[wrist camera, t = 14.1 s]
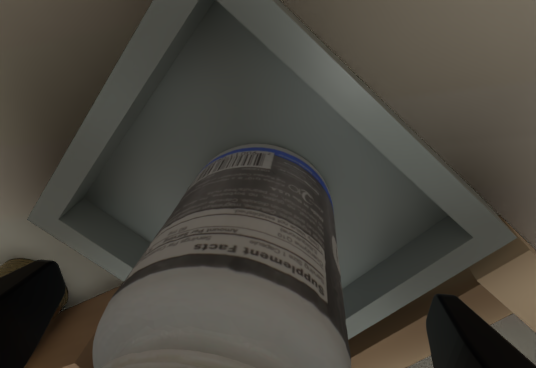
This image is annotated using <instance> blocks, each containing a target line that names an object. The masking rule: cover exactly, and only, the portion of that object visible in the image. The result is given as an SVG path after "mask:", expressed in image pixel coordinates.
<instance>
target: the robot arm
mask: <svg viewBox="0 0 536 368" xmlns="http://www.w3.org/2000/svg"><path fill="white" fill-rule="evenodd" d="M65 290H66V285H65V282H64V279H63V276H62V274H61V271H60V268H59V266H58V264H57V263H56V262H55V261H50V260H36V261H34V262H32V263H30V264H28V265H26V266H23V267H21V268H19V269H17V270H15V271H13V272H11V273H9V274H6V275H4V276H2V277H0V368H24V367H25V365H26V364H27V362H28V361H29V359H30V357H31V356H32V354H33V352H34V351H35V349H36V347H37V345H38V344H39V342H40V340H41V338H42V336H43V334H44V332H45V330H46V329H47V327H48V325H49V323H50V321H51V319H52V317H53V315H54V313H55V312H56V310H57V308H58V306H59V304H60V302H61V300H62V298H63V297H64V294H65ZM426 331H427V336H428V341H429V346H430V351H431V357H432V362H433V367H434V368H536V365H534V364H533V363H532V362H531V361H530V360H529V359H528V358H526V357H525V356H524V355H523V354H522V353H521V352H520V351H518V350H517V349H516V348H515V347H514V346H513V345H512V344H511V343H509V342H508V341H507V340H506V339H505V338H504V337H503V336H501V335H500V334H499V333H498V332H497V331H496V330H495V329H494V328H492V327H491V326H490V325H489V324H488V323H487V322H486V321H484V320H483V319H482V318H481V317H480V316H479V315H478V314H477V313H475V312H474V311H473V310H472V309H471V308H470V307H469V306H467V305H466V304H465V303H464V302H463V301H462V300H461V299H459V298H458V297H457V296H455V295H450V294H435V295H434V297H433V299H432V302H431V305H430V309H429V312H428V315H427V318H426Z"/></svg>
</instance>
